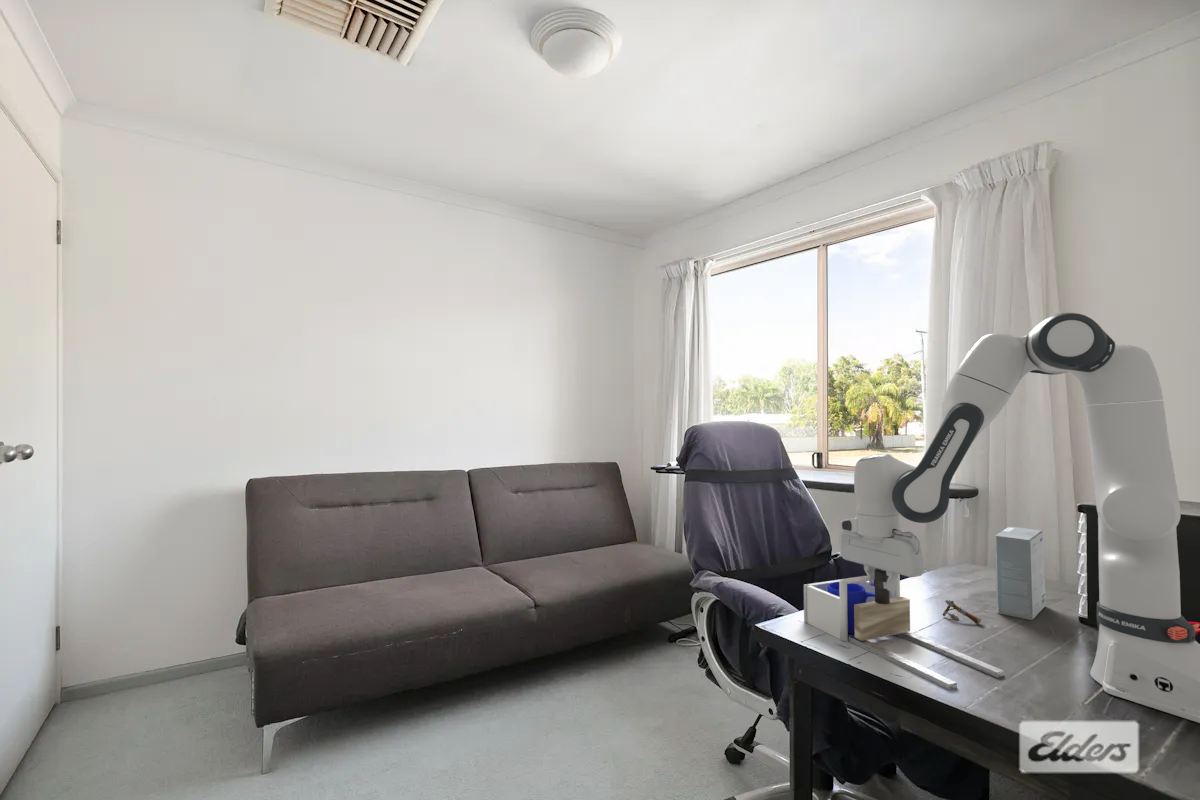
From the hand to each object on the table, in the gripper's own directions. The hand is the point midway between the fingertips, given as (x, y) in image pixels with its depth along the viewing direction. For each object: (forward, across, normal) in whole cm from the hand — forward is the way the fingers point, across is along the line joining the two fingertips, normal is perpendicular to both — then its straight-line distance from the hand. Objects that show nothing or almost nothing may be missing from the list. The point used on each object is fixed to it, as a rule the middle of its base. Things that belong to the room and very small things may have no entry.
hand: (881, 587), depth 128 cm
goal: (+11, +10, 0) cm, 15 cm away
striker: (+10, 0, 0) cm, 10 cm away
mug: (+12, +6, +2) cm, 13 cm away
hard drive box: (+13, +1, -49) cm, 50 cm away
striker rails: (+12, -9, 0) cm, 15 cm away
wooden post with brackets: (+13, +1, -27) cm, 30 cm away
